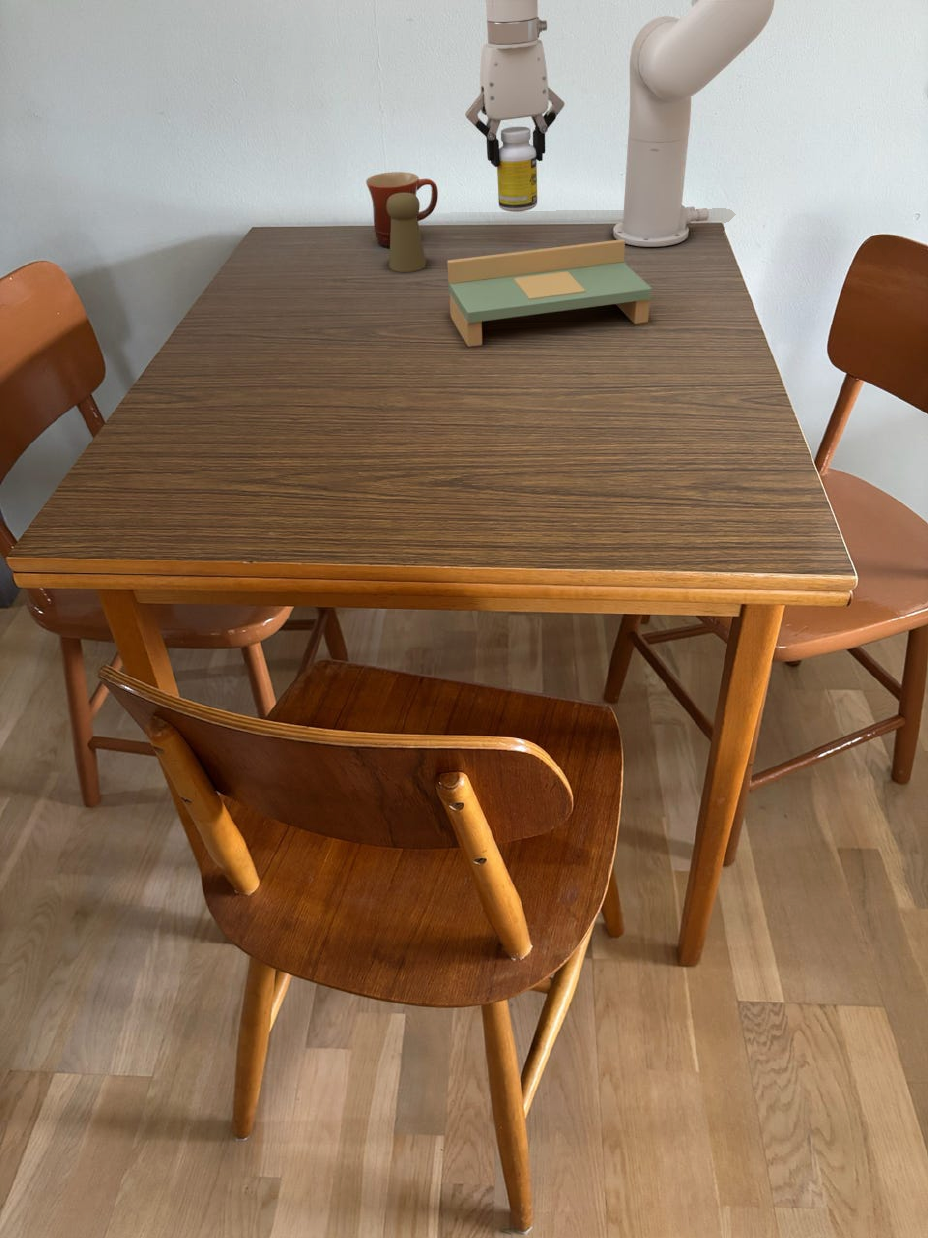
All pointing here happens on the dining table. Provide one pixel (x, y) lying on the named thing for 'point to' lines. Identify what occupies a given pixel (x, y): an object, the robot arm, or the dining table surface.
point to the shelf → (543, 285)
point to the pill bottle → (517, 171)
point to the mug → (386, 187)
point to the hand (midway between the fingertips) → (516, 160)
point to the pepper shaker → (405, 233)
